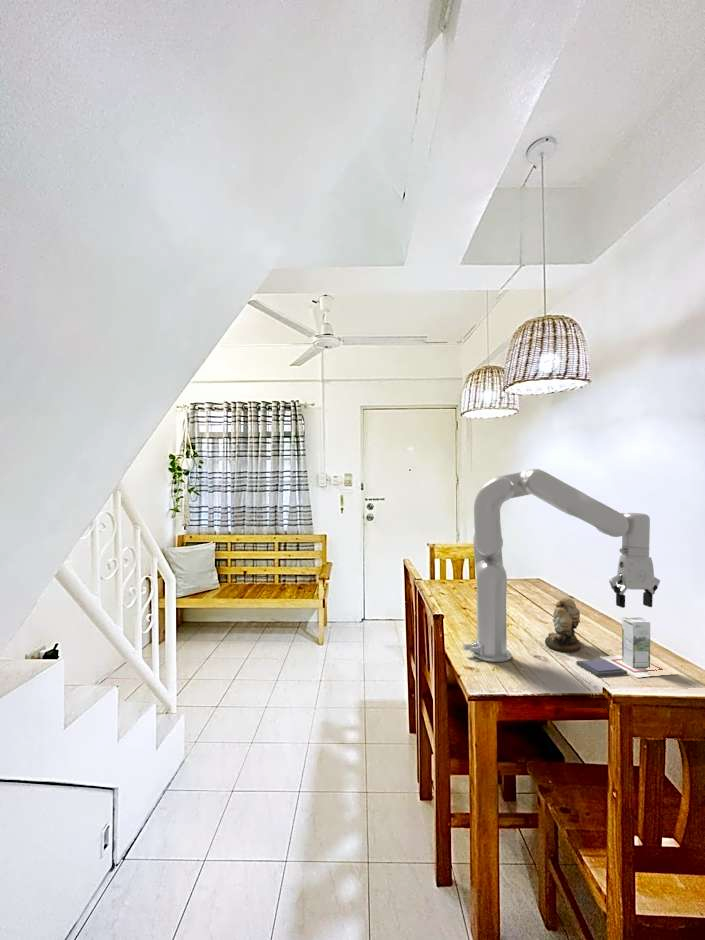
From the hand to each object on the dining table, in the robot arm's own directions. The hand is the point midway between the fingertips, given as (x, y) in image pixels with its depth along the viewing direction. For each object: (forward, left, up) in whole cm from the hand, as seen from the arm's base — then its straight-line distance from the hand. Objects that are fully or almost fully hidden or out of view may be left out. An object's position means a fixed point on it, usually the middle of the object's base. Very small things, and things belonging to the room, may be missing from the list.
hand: (634, 606), depth 156 cm
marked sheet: (+1, 0, -19) cm, 19 cm away
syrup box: (0, 0, -19) cm, 19 cm away
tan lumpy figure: (-10, +22, -19) cm, 31 cm away
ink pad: (-12, -1, -19) cm, 22 cm away
